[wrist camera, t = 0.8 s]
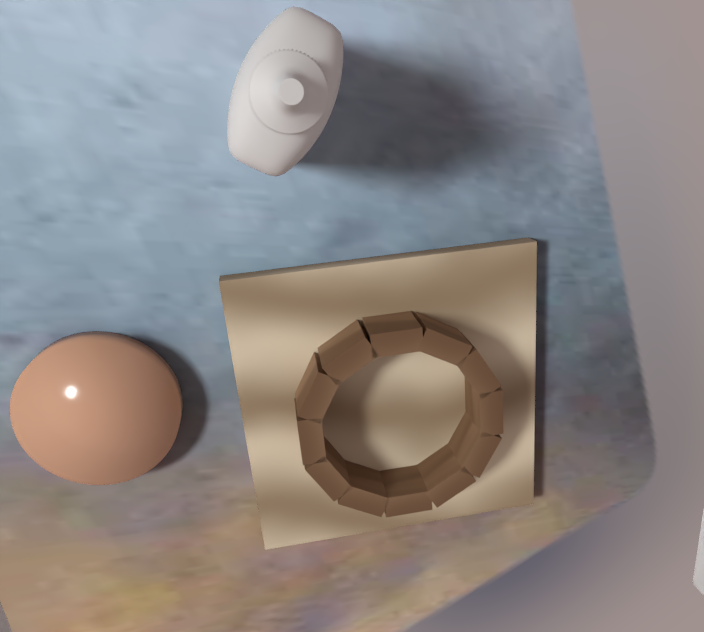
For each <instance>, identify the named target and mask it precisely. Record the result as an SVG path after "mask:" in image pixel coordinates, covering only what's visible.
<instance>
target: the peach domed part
mask: <svg viewBox="0 0 704 632" xmlns="http://www.w3.org/2000/svg"><path fill="white" fill-rule="evenodd" d="M182 410H183V399H182V392H181V389H180V385H179V382H178V380H177V378H176V376H175V374H174V372H173V371H172V369H171V368H170V366H169V365H168V364H167V362H166V361H165V360H164V359H163V358H162V357H161V356H160V355H159V354H158V353H157V352H156V351H154V350H153V349H151V348H150V347H148V346H147V345H145V344H143V343H142V342H140V341H138V340H136V339H133V338H131V337H128V336H125V335H121V334H117V333H111V332H102V331H92V332H82V333H77V334H73V335H70V336H67V337H64V338H61V339H59V340H57V341H55V342H53V343H52V344H50V345H49V346H47V347H46V348H45V349H43V350H42V351H41V352H40V353H39V354H38V355H37V356H36V357H35V358H34V359H33V360H32V362H31V363H30V364H29V365H28V366H27V367H26V368H25V370H24V371H23V372H22V373H21V375H20V377H19V378H18V380H17V382H16V384H15V386H14V389H13V392H12V396H11V400H10V417H11V423H12V427H13V430H14V433H15V435H16V437H17V439H18V441H19V443H20V444H21V446H22V448H23V449H24V450H25V451H26V453H27V454H28V455H29V456H30V457H31V458H32V459H33V460H34V461H35V462H36V463H38V464H39V465H40V466H41V467H43V468H44V469H46V470H47V471H49V472H51V473H53V474H55V475H57V476H59V477H61V478H64V479H67V480H70V481H73V482H77V483H82V484H91V485H108V484H116V483H120V482H125V481H128V480H131V479H134V478H136V477H138V476H140V475H142V474H144V473H146V472H148V471H149V470H151V469H152V468H153V467H155V466H156V465H157V464H158V463H159V462H160V461H161V460H162V459H163V458H164V457H165V456H166V455H167V453H168V452H169V450H170V449H171V447H172V445H173V443H174V441H175V439H176V436H177V433H178V430H179V425H180V421H181V417H182Z"/></svg>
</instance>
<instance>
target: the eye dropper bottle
mask: <svg viewBox="0 0 704 632" xmlns="http://www.w3.org/2000/svg"><path fill="white" fill-rule="evenodd" d="M342 68H343V40H342V37H341V33H340V32H339V31H338V29H337V28H336V27H335V26H334V25H332V24H331V23H329V22H327V21H326V20H324V19H322V18H320V17H319V16H317V15H315V14H313V13H311V12H309V11H307V10H305V9H303V8H299V7H291V8H288V9H285V10H284V11H283V12H281V13H280V14H279V15H278V16H277V17H276V18H275V19H274V20H273V21H272V22H271V23H270V24H269V25H268V26H267V27H266V28H265V29H264V30H263V31H262V33H261V34H260V35H259V36H258V38H257V39H256V41H255V42H254V44H253V45H252V47H251V48H250V50H249V52H248V53H247V55H246V57H245V59H244V61H243V63H242V65H241V67H240V70H239V72H238V75H237V78H236V80H235V84H234V87H233V91H232V95H231V99H230V105H229V113H228V127H227V133H228V147H229V149H230V152H231V155H232V156H233V157H235V158H236V159H237V160H238V161H240V162H242V163H244V164H246V165H248V166H250V167H252V168H254V169H256V170H258V171H261V172H263V173H265V174H268V175H272V176H279V175H282V174H285V173H286V172H287V171H289V170H290V169H291V168H292V167H293V166H295V165H296V164H297V163H298V162H299V161H300V160H301V159H302V158H303V157H304V156H305V155H306V153H307V152H308V151H309V150H310V149H311V147H312V146H313V145H314V143H315V142H316V141H317V139H318V137H319V136H320V134H321V133H322V131H323V129H324V127H325V126H326V124H327V121H328V119H329V117H330V115H331V113H332V110H333V107H334V105H335V102H336V98H337V95H338V91H339V87H340V82H341V76H342Z"/></svg>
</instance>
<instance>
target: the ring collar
mask: <svg viewBox="0 0 704 632" xmlns="http://www.w3.org/2000/svg"><path fill="white" fill-rule="evenodd" d="M536 279H537V241H535V240H533V239H531V238H521V239H513V240H505V241H497V242H489V243H481V244H473V245H465V246H457V247H449V248H441V249H433V250H425V251H417V252H409V253H401V254H393V255H385V256H377V257H369V258H361V259H353V260H345V261H337V262H328V263H320V264H312V265H304V266H296V267H288V268H280V269H272V270H264V271H256V272H248V273H240V274H232V275H224V276H220V279H219V285H220V291H221V297H222V302H223V308H224V314H225V320H226V326H227V331H228V337H229V343H230V349H231V354H232V360H233V366H234V372H235V378H236V383H237V389H238V395H239V401H240V406H241V412H242V418H243V424H244V430H245V435H246V441H247V447H248V453H249V458H250V464H251V470H252V476H253V482H254V487H255V493H256V499H257V505H258V510H259V516H260V522H261V528H262V534H263V539H264V545H265V550H266V549H272V548H278V547H284V546H290V545H296V544H301V543H307V542H313V541H319V540H325V539H331V538H336V537H342V536H348V535H354V534H360V533H366V532H372V531H377V530H383V529H389V528H395V527H401V526H407V525H413V524H418V523H424V522H430V521H436V520H442V519H448V518H454V517H459V516H465V515H471V514H477V513H483V512H489V511H494V510H500V509H506V508H512V507H518V506H524V505H530V504H534V431H535V355H536Z"/></svg>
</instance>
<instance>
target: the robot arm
mask: <svg viewBox="0 0 704 632" xmlns="http://www.w3.org/2000/svg"><path fill="white" fill-rule="evenodd" d="M693 584H694V585H695V586H696V587H697V588H698V590H699V591H700V592H701V593H702V594H703V595H704V511H703V517H702V524H701V530H700V537H699V544H698V550H697V557H696V564H695V570H694V577H693ZM0 632H12V630H11V628H10V625H9V623H8V620H7V618H6V615H5V613H4V610H3V607H2V605H1V602H0Z"/></svg>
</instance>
